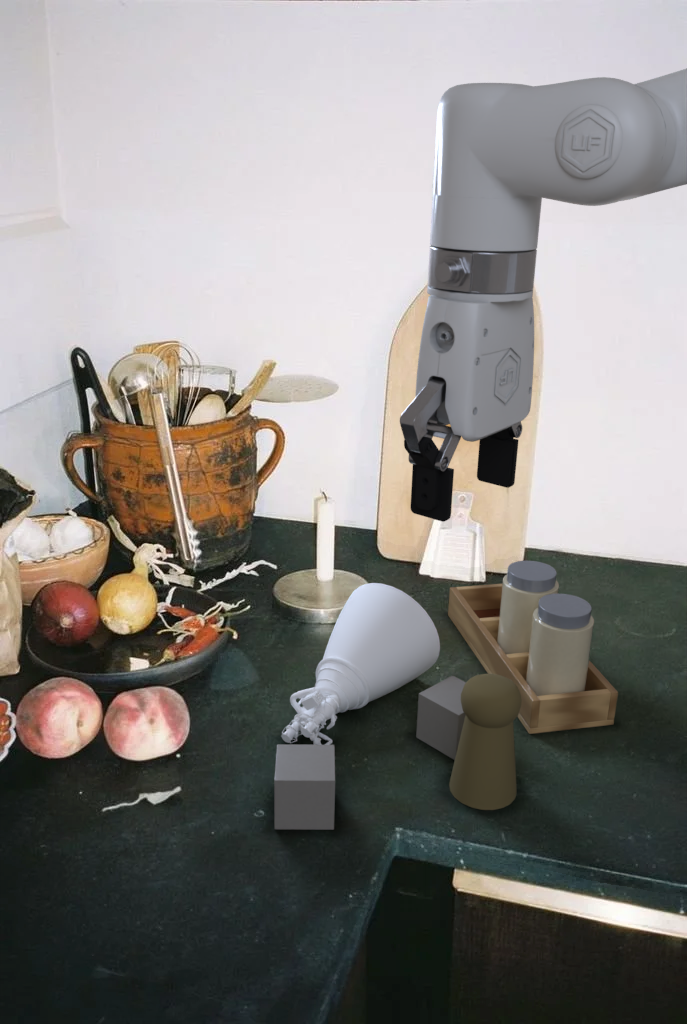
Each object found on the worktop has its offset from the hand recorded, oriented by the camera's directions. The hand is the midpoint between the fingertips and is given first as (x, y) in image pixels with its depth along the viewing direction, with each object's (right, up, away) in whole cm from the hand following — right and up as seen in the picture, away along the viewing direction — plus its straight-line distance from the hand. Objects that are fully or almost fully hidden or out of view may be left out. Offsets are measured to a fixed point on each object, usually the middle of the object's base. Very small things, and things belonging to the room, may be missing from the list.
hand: (464, 499), depth 73 cm
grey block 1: (-13, -27, +8) cm, 31 cm away
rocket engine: (-10, -21, +24) cm, 33 cm away
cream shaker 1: (+11, -18, +32) cm, 38 cm away
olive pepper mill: (+3, -26, +11) cm, 29 cm away
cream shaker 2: (+12, -21, +24) cm, 34 cm away
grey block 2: (+1, -23, +18) cm, 30 cm away
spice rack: (+11, -18, +32) cm, 38 cm away
